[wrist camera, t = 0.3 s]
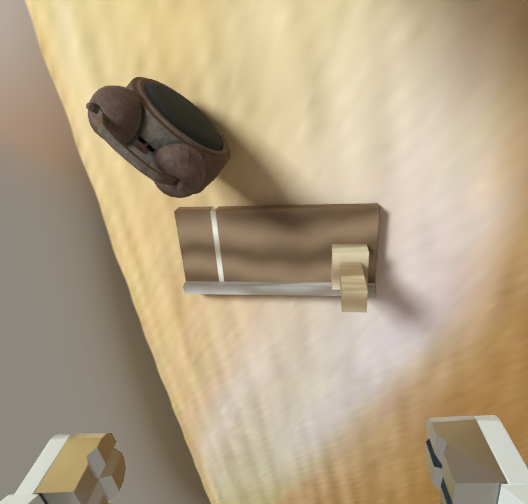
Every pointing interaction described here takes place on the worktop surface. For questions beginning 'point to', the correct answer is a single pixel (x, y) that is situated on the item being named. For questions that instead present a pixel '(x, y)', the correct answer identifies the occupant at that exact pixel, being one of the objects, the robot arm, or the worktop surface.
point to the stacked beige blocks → (351, 275)
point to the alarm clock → (159, 135)
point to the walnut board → (271, 247)
